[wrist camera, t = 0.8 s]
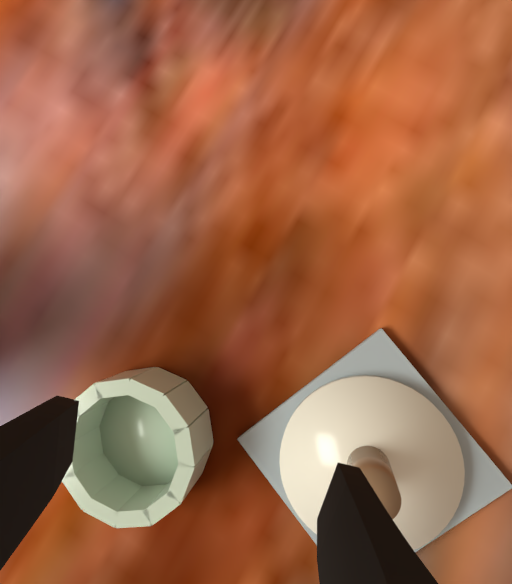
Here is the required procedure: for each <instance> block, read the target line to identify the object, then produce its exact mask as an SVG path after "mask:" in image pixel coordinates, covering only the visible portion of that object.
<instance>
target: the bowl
mask: <svg viewBox="0 0 512 584" xmlns="http://www.w3.org/2000/svg"><path fill="white" fill-rule="evenodd" d="M75 400H77V401H79V406H78V416H77V425H76V434H75V443H74V453H73V461H72V463H71V465H70V467H69V469H68V471H67V472H66V474H65V476H64V478H63V480H62V482H63V483H64V485H65V486H66V488H67V489H68V491H69V492H70V494H71V495H72V497H73V498H74V500H75V501H76V502H77V504H78V505H79V507H80V508H81V510H82V509H84V510H83V511H84V512H86V513H87V514H89V515H91V516H93V517H95V518H97V519H99V520H101V521H103V522H105V523H106V524H108V525H110V526H112V527H114V528H115V527H116V528H127V527H143V526H151V525H154V524H155V523H156V522H158V521H159V520H160V519H162V518H163V517H164V516H166V515H167V514H168V513H169V512H171V511H172V510H173V509H175V508H176V507H177V506H179V505H180V504H181V503H182V501H183V500H184V499H185V497H186V496H187V494H188V493H189V491H190V490H191V489H192V487H193V486H194V484H195V483H196V482H197V480H198V479H199V477H200V476H201V475H202V473H203V470H204V467H205V465H206V462H207V459H208V457H209V454H210V452H211V449H212V446H213V442H214V441H213V435H212V428H211V421H210V415H209V409H207V408H208V407H207V405H206V404H205V403H204V401H203V400H202V399H201V397H200V396H199V395H198V393H197V392H196V391H195V389H194V388H193V387H192V385H191V384H190V383H189V381H187V382H186V379H184V378H182V377H179V376H177V375H175V374H173V373H170V372H168V371H166V370H163V369H161V368H159V367H157V368H156V367H151V368H144V369H136V370H129V371H125V372H122V373H120V374H117V375H114V376H112V377H109V378H107V379H104V380H101V381H99V382H96V383H94V384H93V385H91V386H90V387H89V388H88V389H87V390H85V391H84V392H83V393H82V394H81V395H80V396H78V397H77V398H76V399H75Z"/></svg>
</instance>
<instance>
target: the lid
mask: <svg viewBox="0 0 512 584" xmlns="http://www.w3.org/2000/svg"><path fill="white" fill-rule="evenodd" d="M279 463H280V474H281V479H282V483H283V487H284V489H285V492H286V495H287V497H288V499H289V501H290V503H291V505H292V507H293V509H294V510H295V512H296V513H297V515H298V516H299V517H300V519H301V520H302V521H303V522H304V523H305V525H306V526H307V527H308V528H310V529H311V530H312V531H313V532H314V533H315V534H316V535H317V518H318V515H319V512H320V509H321V507H322V504H323V501H324V499H325V496H326V493H327V490H328V488H329V485H330V482H331V480H332V477H333V474H334V472H335V469H336V466H337V463H342V464H346V465H351V466H355V467H359V468H360V469H361V471H362V472H363V474H364V475H365V477H366V478H367V480H368V482H369V483H370V485H371V486H372V488H373V490H374V491H375V493H376V494H377V496H378V498H379V499H380V501H381V502H382V504H383V505H384V507H385V509H386V510H387V512H388V513H389V515H390V516H391V518H392V519H393V521H394V522H395V524H396V525H397V527H398V529H399V530H400V532H401V533H402V534H403V536H404V537H405V539H406V540H407V542H408V543H409V545H410V546H411V547H412V549H413V550H415V549H418V548H420V547H422V546H423V545H425V544H427V543H428V542H430V541H431V540H432V539H434V538H435V537H436V536H438V535H439V534H440V532H441V531H442V530H443V529H444V528H445V527H446V526H447V525H448V523H449V522H450V520H451V519H452V518H453V516H454V514H455V512H456V510H457V508H458V506H459V503H460V500H461V497H462V493H463V487H464V477H465V469H464V459H463V455H462V451H461V447H460V444H459V442H458V439H457V437H456V435H455V433H454V431H453V429H452V427H451V425H450V424H449V422H448V421H447V420H446V418H445V417H444V416H443V414H442V413H441V412H440V411H439V410H438V409H437V408H436V407H435V406H434V404H433V403H432V402H431V401H429V400H428V399H427V398H426V397H425V396H423V395H422V394H421V393H419V392H418V391H416V390H415V389H413V388H412V387H410V386H408V385H405V384H403V383H401V382H399V381H396V380H393V379H390V378H386V377H381V376H374V375H353V376H348V377H342V378H339V379H336V380H333V381H330V382H328V383H326V384H324V385H322V386H320V387H319V388H317V389H316V390H314V391H313V392H311V393H310V394H309V395H308V396H307V397H306V398H305V399H304V400H303V401H302V402H301V403H300V404H299V405H298V407H297V408H296V409H295V411H294V412H293V414H292V416H291V417H290V419H289V422H288V424H287V426H286V429H285V432H284V435H283V438H282V442H281V448H280V462H279Z"/></svg>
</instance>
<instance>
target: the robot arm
mask: <svg viewBox="0 0 512 584" xmlns="http://www.w3.org/2000/svg"><path fill="white" fill-rule="evenodd" d="M78 406H79V401H77V400H73V399H69V398H65V397H60V396H56V397H54V398H52V399H50V400H48V401H46V402H44V403H42V404H41V405H39V406H37V407H35V408H33V409H31V410H30V411H28V412H26V413H24V414H22V415H20V416H19V417H17V418H15V419H13V420H11V421H9V422H7V423H5V424H4V425H2V426H0V570H1V569H2V567H3V566H4V565H5V563H6V562H7V560H8V559H9V558H10V556H11V555H12V553H13V552H14V551H15V549H16V548H17V547H18V545H19V544H20V542H21V541H22V540H23V538H24V537H25V535H26V534H27V533H28V531H29V530H30V528H31V527H32V526H33V524H34V523H35V521H36V520H37V519H38V517H39V516H40V514H41V513H42V512H43V510H44V509H45V507H46V506H47V504H48V503H49V502H50V500H51V499H52V497H53V496H54V494H55V492H56V490H57V489H58V487H59V485H60V483H61V482H62V480H63V478H64V476H65V474H66V472H67V471H68V469H69V467H70V465H71V463H72V461H73V453H74V443H75V434H76V425H77V416H78ZM317 562H318V572H319V581H320V584H438V583H437V581H436V580H435V579H434V577H433V576H432V575H431V573H430V572H429V571H428V569H427V568H426V567H425V565H424V564H423V563H422V561H421V560H420V559H419V557H418V556H417V555H416V553H415V552H414V550H413V549H412V547H411V546H410V545H409V543H408V542H407V540H406V539H405V537H404V536H403V534H402V533H401V532H400V530H399V529H398V527H397V525H396V524H395V522H394V521H393V519H392V518H391V516H390V515H389V513H388V512H387V510H386V509H385V507H384V505H383V504H382V502H381V501H380V499H379V498H378V496H377V494H376V493H375V491H374V490H373V488H372V486H371V485H370V483H369V482H368V480H367V478H366V477H365V475H364V474H363V472H362V471H361V469H360V468H359V467H355V466H351V465H346V464H342V463H337V466H336V469H335V472H334V474H333V477H332V480H331V482H330V485H329V488H328V490H327V493H326V496H325V499H324V501H323V504H322V507H321V509H320V512H319V515H318V518H317Z"/></svg>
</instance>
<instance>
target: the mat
mask: <svg viewBox="0 0 512 584" xmlns="http://www.w3.org/2000/svg"><path fill="white" fill-rule="evenodd" d="M353 375H374V376H381V377H386V378H390V379H393V380H396V381H399V382H401V383H403V384H405V385H408V386H410V387H412V388H413V389H415V390H416V391H418V392H419V393H421V394H422V395H423V396H425V397H426V398H427V399H428V400H429V401H431V402H432V403H433V404H434V406H435V407H436V408H437V409H438V410H439V411H440V412H441V413H442V414H443V416H444V417H445V418H446V420H447V421H448V422H449V424H450V425H451V427H452V429H453V431H454V433H455V435H456V437H457V439H458V442H459V444H460V447H461V451H462V455H463V459H464V469H465V477H464V487H463V493H462V497H461V500H460V503H459V506H458V508H457V510H456V512H455V514H454V516H453V518H452V519H451V520H450V522H449V523H448V525H447V526H446V527H445V528H444V529H443V530H442V531H441V532H440V534H439V535H438V536H436V537H435V538H434V539H432V540H431V541H430V542H432V541H433V540H435V539H436V538H438V537H439V536H441V535H442V534H444V533H445V532H447V531H448V530H450V529H451V528H453V527H454V526H456V525H457V524H459V523H460V522H462V521H463V520H465V519H466V518H468V517H469V516H471V515H472V514H474V513H475V512H477V511H478V510H480V509H481V508H483V507H484V506H486V505H487V504H489V503H490V502H492V501H493V500H495V499H496V498H498V497H499V496H501V495H502V494H504V493H505V492H507V491H508V490H510V489H511V488H512V484H511V483H510V482H509V481H508V480H507V478H506V477H505V476H504V475H503V474H502V472H501V471H500V470H499V469H498V468H497V466H496V465H495V464H494V463H493V462H492V460H491V459H490V458H489V457H488V456H487V454H486V453H485V452H484V451H483V450H482V448H481V447H480V446H479V445H478V444H477V442H476V441H475V440H474V439H473V438H472V436H471V435H470V434H469V433H468V432H467V430H466V429H465V428H464V427H463V426H462V424H461V423H460V422H459V421H458V420H457V418H456V417H455V416H454V415H453V414H452V412H451V411H450V410H449V409H448V408H447V406H446V405H445V404H444V403H443V402H442V400H441V399H440V398H439V397H438V396H437V394H436V393H435V392H434V391H433V390H432V388H431V387H430V386H429V385H428V384H427V382H426V381H425V380H424V379H423V378H422V376H421V375H420V374H419V373H418V372H417V370H416V369H415V368H414V367H413V366H412V364H411V363H410V362H409V361H408V360H407V358H406V357H405V356H404V355H403V354H402V352H401V351H400V350H399V349H398V348H397V346H396V345H395V344H394V343H393V342H392V340H391V339H390V338H389V337H388V336H387V334H386V333H385V332H384V331H383V330H382V328H380V329H379V330H377V331H376V332H375V333H374V334H372V335H371V336H370V337H368V338H367V339H366V340H364V341H363V342H362V343H361V344H359V345H358V346H357V347H355V348H354V349H353V350H351V351H350V352H349V353H347V354H346V355H345V356H344V357H342V358H341V359H340V360H338V361H337V362H336V363H334V364H333V365H332V366H331V367H329V368H328V369H327V370H325V371H324V372H323V373H321V374H320V375H319V376H318V377H316V378H315V379H314V380H312V381H311V382H310V383H308V384H307V385H306V386H304V387H303V388H302V389H301V390H299V391H298V392H297V393H295V394H294V395H293V396H291V397H290V398H289V399H288V400H286V401H285V402H284V403H282V404H281V405H280V406H278V407H277V408H276V409H274V410H273V411H272V412H271V413H269V414H268V415H267V416H265V417H264V418H263V419H261V420H260V421H259V422H258V423H256V424H255V425H254V426H252V427H251V428H250V429H248V430H247V431H246V432H245V433H243V434H242V435H241V436H239V437H238V439H237V440H238V441H239V442H240V444H241V445H242V446H243V448H244V449H245V450H246V452H247V453H248V454H249V456H250V457H251V458H252V460H253V461H254V462H255V464H256V465H257V466H258V468H259V469H260V470H261V472H262V473H263V474H264V476H265V477H266V478H267V480H268V481H269V482H270V484H271V485H272V486H273V488H274V489H275V490H276V492H277V493H278V494H279V496H280V497H281V498H282V500H283V501H284V502H285V504H286V505H287V506H288V508H289V509H290V510H291V512H292V513H293V514H294V516H295V517H296V518H297V520H298V521H299V522H300V524H301V525H302V526H303V528H304V529H305V530H306V531H307V533H308V534H309V535H310V537H311V538H312V539H313V541H314V542H315V543H316V545H317V535H316V534H315V533H314V532H313V531H312V530H311V529H310V528H308V527H307V526H306V525H305V523H304V522H303V521H302V520H301V519H300V517H299V516H298V515H297V513H296V512H295V510H294V509H293V507H292V505H291V503H290V501H289V499H288V497H287V495H286V492H285V489H284V487H283V483H282V479H281V474H280V463H279V462H280V448H281V442H282V438H283V435H284V432H285V429H286V426H287V424H288V422H289V419H290V417H291V416H292V414H293V412H294V411H295V409H296V408H297V407H298V405H299V404H300V403H301V402H302V401H303V400H304V399H305V398H306V397H307V396H308V395H309V394H310V393H311V392H313V391H314V390H316V389H317V388H319V387H320V386H322V385H324V384H326V383H328V382H330V381H333V380H336V379H339V378H342V377H348V376H353ZM430 542H428V543H427V544H429V543H430ZM427 544H425V545H423V546H422V547H420V548H418V549H415V550H414V552H416V551H418V550H420V549H421V548H423V547H424V546H426V545H427Z"/></svg>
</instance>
